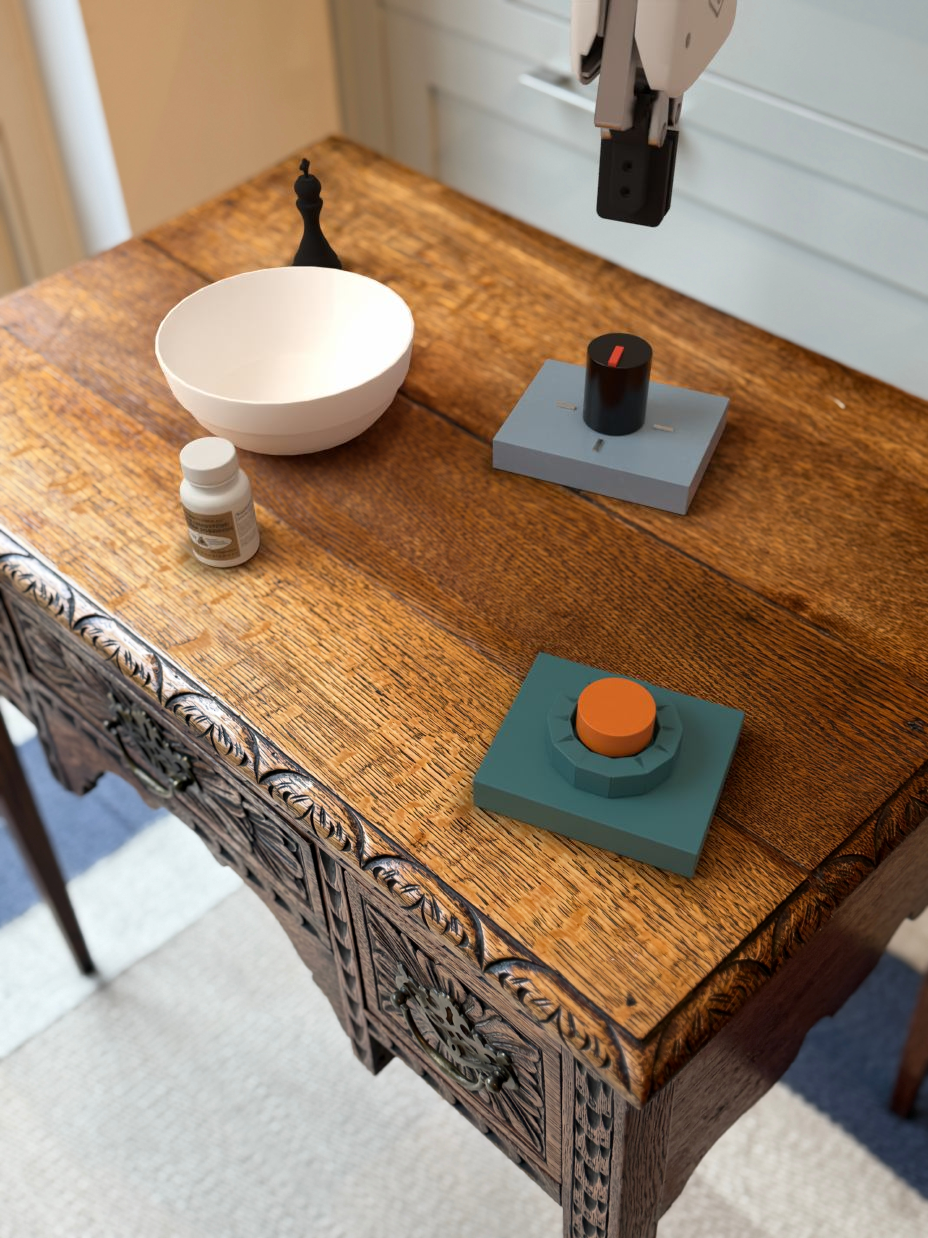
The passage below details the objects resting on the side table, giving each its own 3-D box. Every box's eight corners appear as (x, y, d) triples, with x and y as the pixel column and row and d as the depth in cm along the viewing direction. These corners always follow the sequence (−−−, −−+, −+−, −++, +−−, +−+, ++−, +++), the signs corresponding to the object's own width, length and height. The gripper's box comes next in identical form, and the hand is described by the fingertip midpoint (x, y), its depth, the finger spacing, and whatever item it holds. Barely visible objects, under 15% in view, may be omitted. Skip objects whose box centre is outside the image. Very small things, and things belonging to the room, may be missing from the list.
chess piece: (283, 278, 103) (268, 165, 96) (303, 254, 106) (290, 144, 99) (330, 285, 102) (318, 172, 95) (349, 261, 105) (339, 150, 98)
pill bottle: (180, 560, 77) (157, 465, 72) (215, 519, 80) (195, 425, 74) (239, 576, 76) (220, 481, 70) (272, 534, 79) (256, 440, 73)
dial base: (725, 426, 87) (730, 396, 85) (685, 515, 79) (689, 484, 78) (546, 386, 91) (547, 356, 89) (492, 467, 84) (492, 437, 82)
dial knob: (591, 394, 85) (597, 323, 81) (651, 406, 84) (659, 334, 80) (575, 429, 82) (579, 357, 78) (636, 441, 81) (644, 368, 77)
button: (662, 712, 62) (665, 690, 61) (639, 767, 60) (643, 745, 59) (590, 690, 64) (592, 668, 62) (565, 744, 61) (567, 722, 60)
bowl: (127, 464, 84) (104, 377, 79) (239, 333, 97) (225, 251, 92) (366, 512, 80) (358, 424, 75) (451, 369, 92) (449, 285, 87)
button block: (739, 737, 66) (751, 689, 63) (692, 880, 59) (702, 833, 57) (538, 676, 69) (540, 628, 66) (472, 805, 63) (471, 758, 60)
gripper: (725, -210, 38) (664, 305, 51) (818, -284, 47) (746, 165, 60) (507, -225, 40) (502, 273, 53) (638, -292, 50) (606, 142, 62)
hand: (632, 214), depth 56 cm, fingers closed
